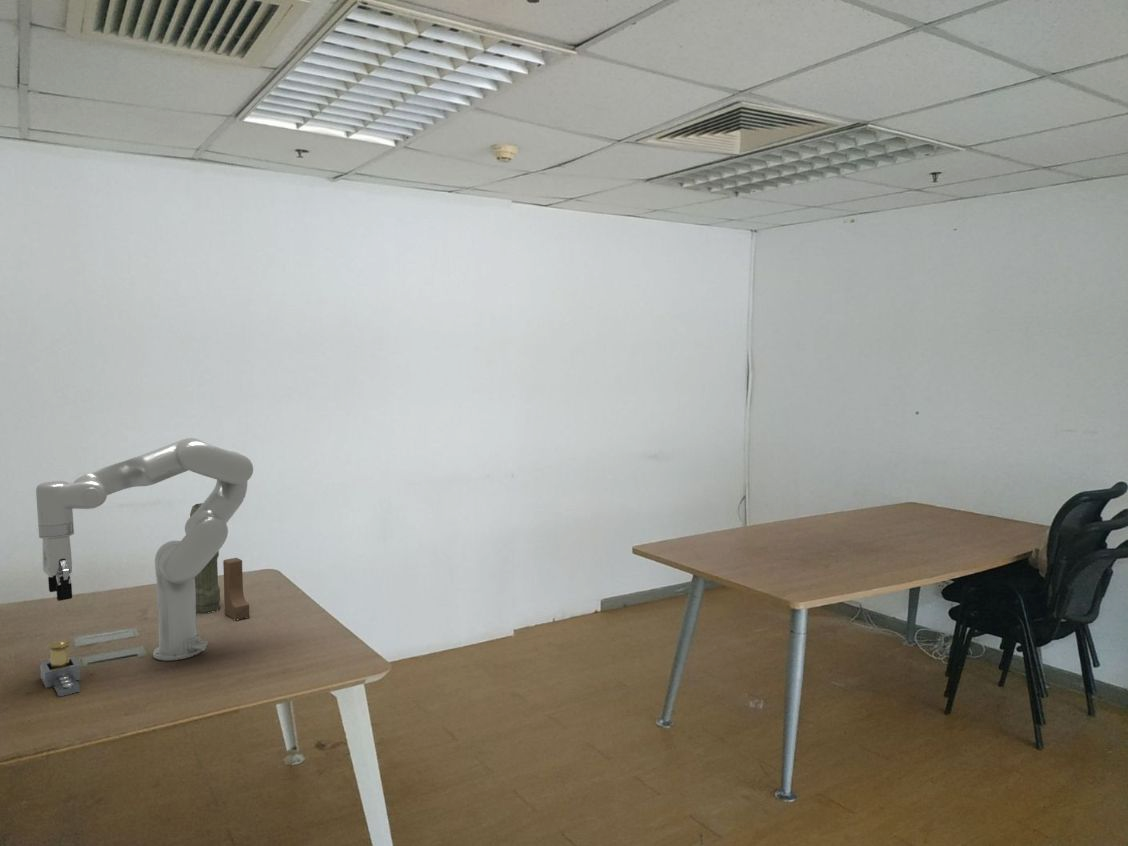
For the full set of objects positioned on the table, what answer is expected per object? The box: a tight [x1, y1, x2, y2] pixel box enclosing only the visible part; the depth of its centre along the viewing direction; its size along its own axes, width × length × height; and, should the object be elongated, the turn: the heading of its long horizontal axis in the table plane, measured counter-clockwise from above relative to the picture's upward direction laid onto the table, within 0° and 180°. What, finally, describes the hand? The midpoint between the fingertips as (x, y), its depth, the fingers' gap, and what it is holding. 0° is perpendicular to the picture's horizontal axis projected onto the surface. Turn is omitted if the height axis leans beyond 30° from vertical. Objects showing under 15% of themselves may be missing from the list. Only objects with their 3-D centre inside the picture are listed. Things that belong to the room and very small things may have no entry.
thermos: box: [189, 502, 221, 614], centre depth 252 cm, size 9×12×35 cm
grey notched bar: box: [39, 656, 82, 698], centre depth 198 cm, size 24×8×4 cm, turn 42°
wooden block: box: [222, 557, 250, 621], centre depth 247 cm, size 9×4×18 cm, turn 45°
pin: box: [47, 637, 72, 670], centre depth 197 cm, size 5×5×10 cm
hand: (60, 595), depth 199 cm, fingers open, 9 cm apart
